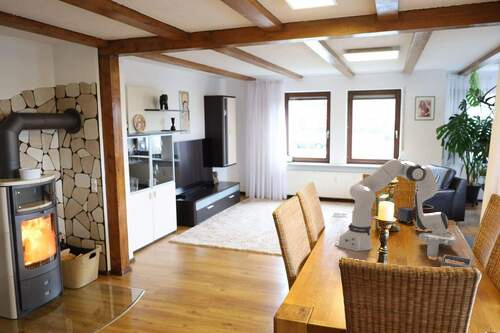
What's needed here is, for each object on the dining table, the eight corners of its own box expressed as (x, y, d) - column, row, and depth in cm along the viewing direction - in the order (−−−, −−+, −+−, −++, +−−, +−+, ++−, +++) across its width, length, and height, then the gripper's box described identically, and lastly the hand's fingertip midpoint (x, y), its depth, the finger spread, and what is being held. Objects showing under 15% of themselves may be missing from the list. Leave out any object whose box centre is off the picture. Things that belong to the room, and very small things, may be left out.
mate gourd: (422, 226, 293) (423, 199, 291) (437, 231, 280) (439, 203, 278) (406, 228, 287) (407, 201, 285) (421, 233, 274) (422, 205, 272)
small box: (413, 222, 303) (414, 209, 302) (407, 223, 301) (407, 210, 299) (403, 219, 313) (404, 206, 312) (397, 220, 310) (397, 207, 309)
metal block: (426, 258, 224) (427, 238, 223) (428, 256, 228) (429, 236, 227) (436, 260, 222) (437, 239, 220) (437, 258, 226) (438, 237, 224)
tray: (440, 268, 210) (440, 261, 210) (443, 260, 222) (444, 254, 221) (470, 273, 203) (470, 267, 202) (472, 265, 214) (472, 259, 214)
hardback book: (385, 230, 282) (386, 197, 279) (375, 229, 286) (376, 196, 283) (392, 225, 297) (393, 193, 294) (382, 223, 301) (383, 192, 298)
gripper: (421, 229, 249) (416, 234, 238) (457, 234, 238) (454, 240, 226) (420, 238, 250) (416, 244, 238) (456, 244, 239) (454, 250, 227)
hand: (435, 242), depth 232 cm, fingers open, 8 cm apart
